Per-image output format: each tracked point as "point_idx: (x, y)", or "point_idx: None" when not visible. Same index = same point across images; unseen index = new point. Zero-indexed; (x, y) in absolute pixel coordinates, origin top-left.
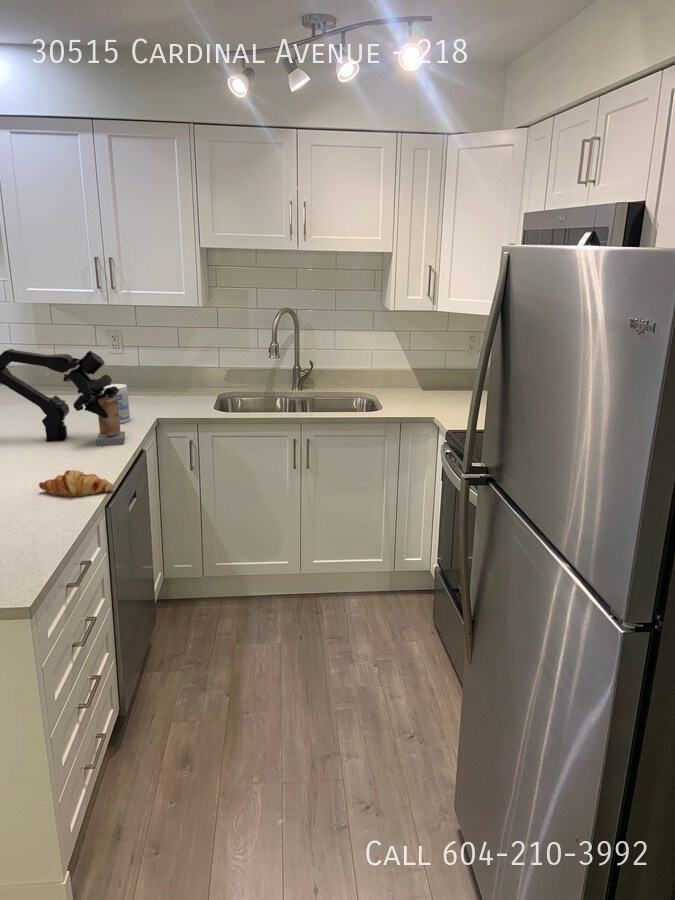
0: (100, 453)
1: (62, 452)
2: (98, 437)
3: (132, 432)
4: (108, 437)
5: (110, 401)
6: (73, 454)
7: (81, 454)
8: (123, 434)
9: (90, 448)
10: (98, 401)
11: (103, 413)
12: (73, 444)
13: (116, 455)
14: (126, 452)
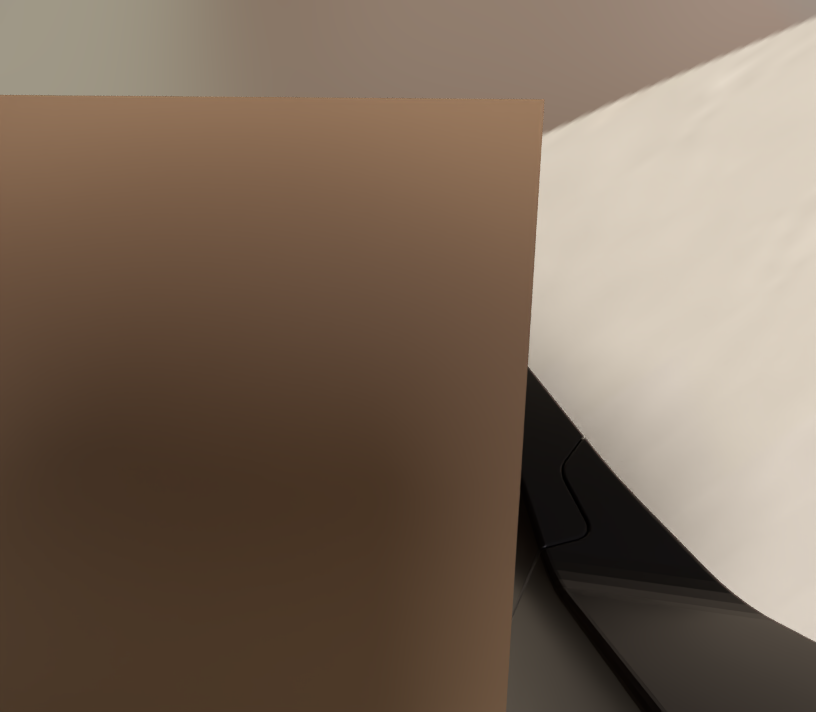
0: (699, 299)
1: (794, 619)
2: None
3: None
4: None
5: (394, 116)
6: (805, 491)
7: (779, 427)
8: None
9: (611, 455)
10: (500, 674)
11: (533, 379)
12: None
13: (698, 158)
14: (607, 136)
